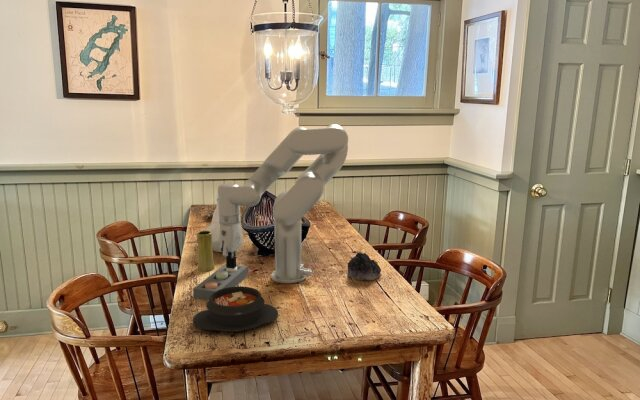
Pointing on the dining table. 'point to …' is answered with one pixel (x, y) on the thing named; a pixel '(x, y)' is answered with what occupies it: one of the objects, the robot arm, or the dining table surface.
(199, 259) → the vase
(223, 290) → the casserole
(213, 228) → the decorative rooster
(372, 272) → the crystal cluster
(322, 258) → the dining table surface
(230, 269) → the cream rounded piece
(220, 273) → the sage button
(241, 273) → the button panel
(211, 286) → the terracotta button
